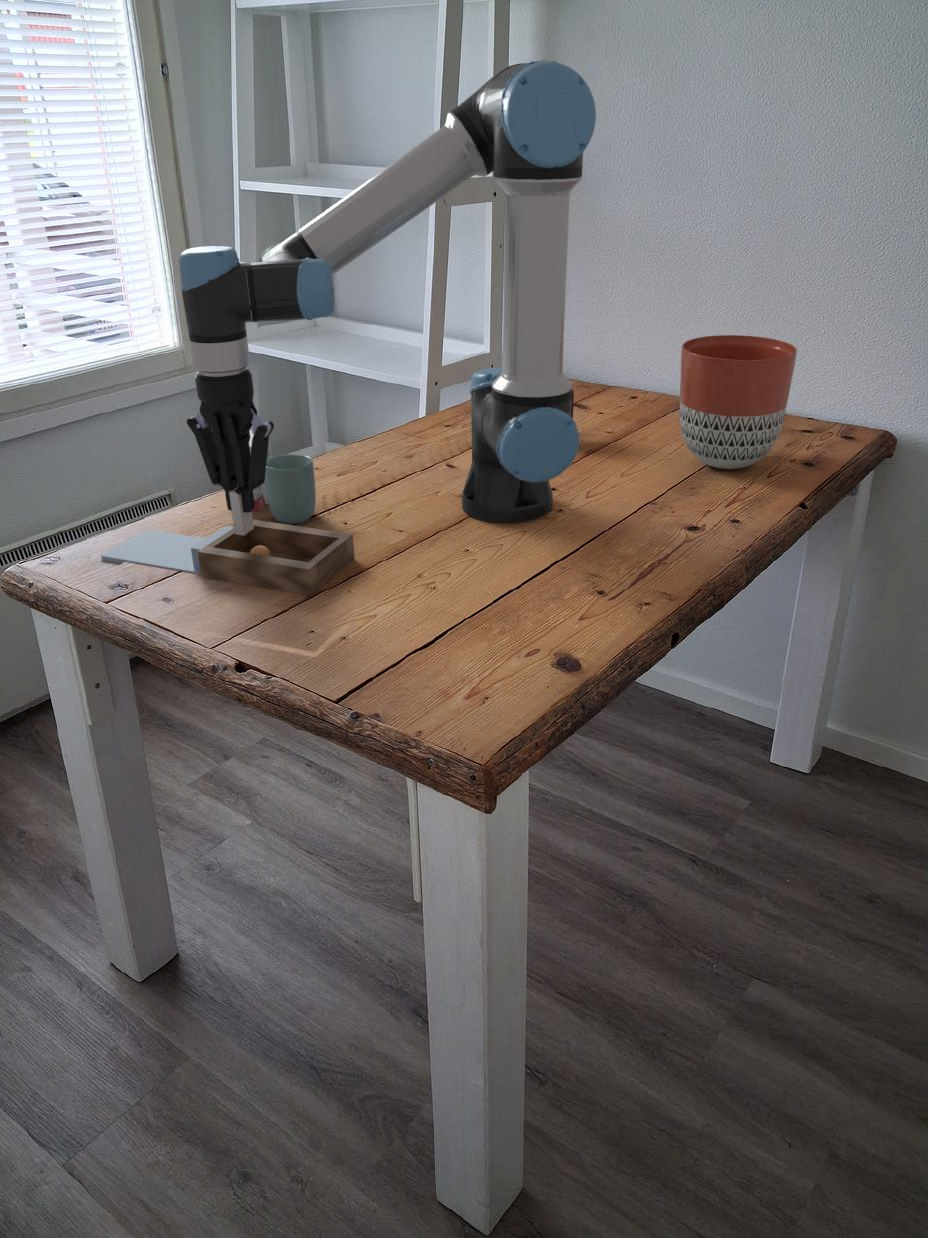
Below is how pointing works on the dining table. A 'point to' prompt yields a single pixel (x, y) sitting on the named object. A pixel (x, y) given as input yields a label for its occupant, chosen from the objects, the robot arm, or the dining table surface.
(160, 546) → the lid
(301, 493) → the cup
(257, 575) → the box
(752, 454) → the planter
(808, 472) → the dining table surface
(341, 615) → the dining table surface
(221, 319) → the robot arm
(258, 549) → the ball
